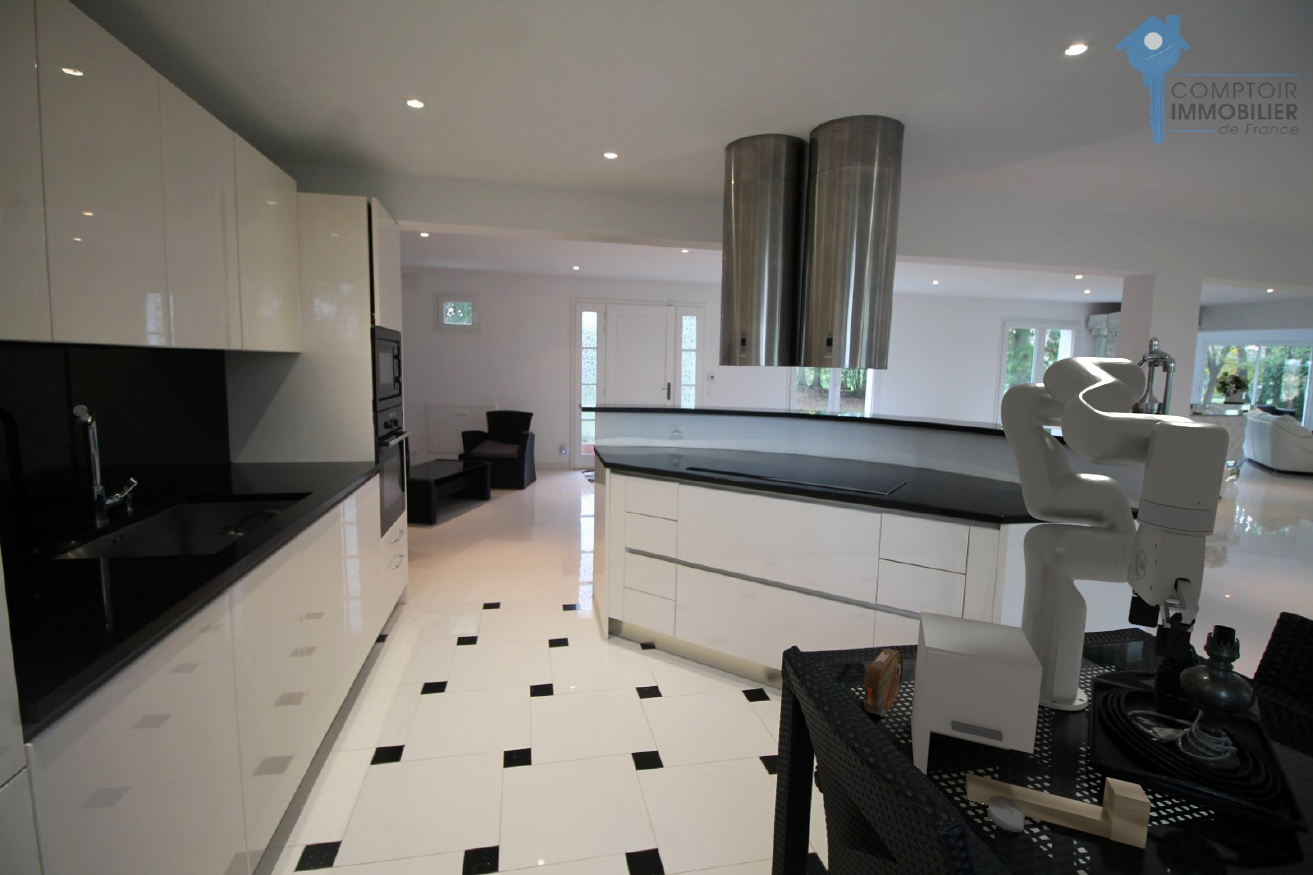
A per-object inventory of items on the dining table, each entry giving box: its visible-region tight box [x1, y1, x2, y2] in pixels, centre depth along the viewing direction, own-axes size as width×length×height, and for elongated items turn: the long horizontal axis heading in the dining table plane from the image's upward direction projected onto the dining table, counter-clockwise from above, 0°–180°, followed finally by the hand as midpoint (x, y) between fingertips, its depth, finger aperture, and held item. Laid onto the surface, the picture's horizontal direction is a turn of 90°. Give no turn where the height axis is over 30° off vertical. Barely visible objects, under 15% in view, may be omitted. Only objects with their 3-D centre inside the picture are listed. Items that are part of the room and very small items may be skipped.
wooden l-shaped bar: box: [965, 773, 1152, 849], centre depth 77 cm, size 4×19×6 cm, turn 69°
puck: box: [987, 796, 1026, 834], centre depth 76 cm, size 4×4×2 cm
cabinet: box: [910, 611, 1043, 776], centre depth 86 cm, size 16×14×19 cm
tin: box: [863, 648, 904, 717], centre depth 103 cm, size 15×3×8 cm, turn 143°
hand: (1155, 640), depth 79 cm, fingers open, 9 cm apart
